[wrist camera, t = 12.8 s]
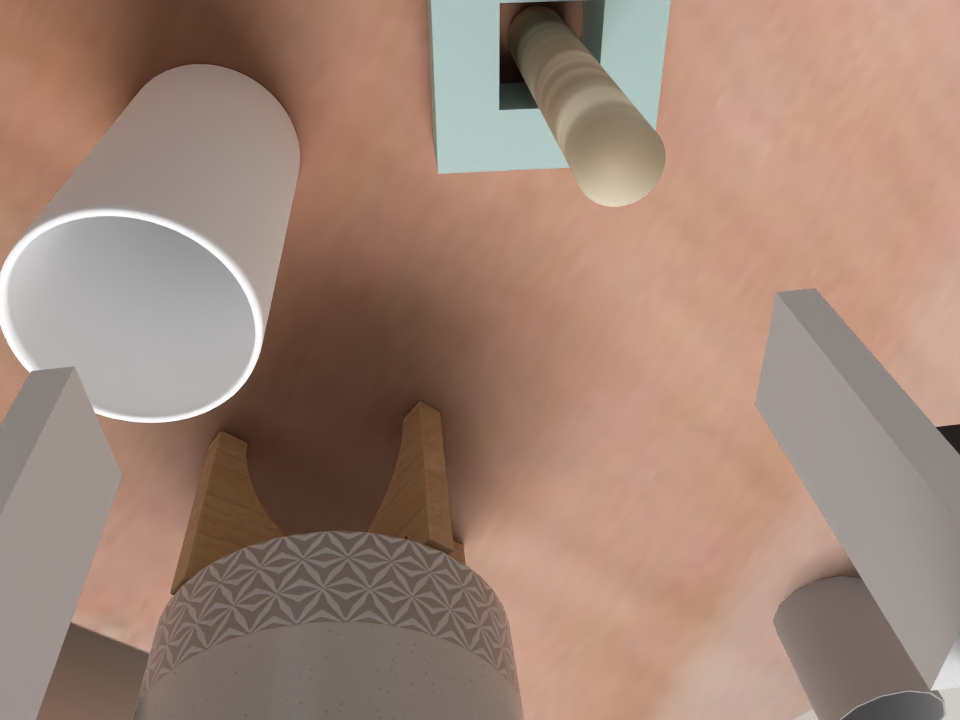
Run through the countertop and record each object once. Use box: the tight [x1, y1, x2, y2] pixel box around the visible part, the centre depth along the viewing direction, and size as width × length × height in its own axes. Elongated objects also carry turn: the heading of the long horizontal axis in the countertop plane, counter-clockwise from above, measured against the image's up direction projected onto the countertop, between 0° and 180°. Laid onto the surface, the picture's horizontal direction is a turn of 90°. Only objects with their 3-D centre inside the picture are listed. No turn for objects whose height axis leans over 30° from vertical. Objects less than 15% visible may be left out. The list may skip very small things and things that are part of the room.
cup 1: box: [0, 64, 300, 423], centre depth 33 cm, size 8×8×16 cm
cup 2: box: [773, 576, 946, 720], centre depth 62 cm, size 8×8×10 cm
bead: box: [427, 0, 671, 174], centre depth 36 cm, size 10×10×4 cm
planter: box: [133, 401, 524, 720], centre depth 43 cm, size 19×19×26 cm
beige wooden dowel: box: [507, 6, 665, 207], centre depth 31 cm, size 3×3×16 cm
